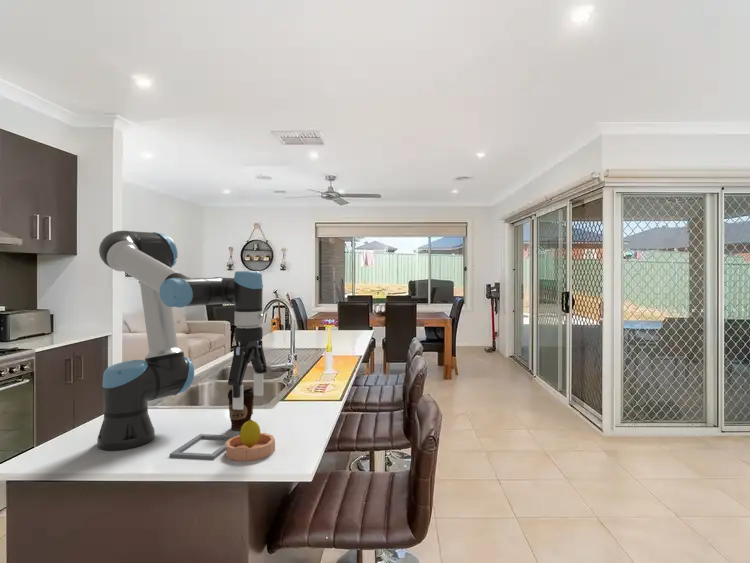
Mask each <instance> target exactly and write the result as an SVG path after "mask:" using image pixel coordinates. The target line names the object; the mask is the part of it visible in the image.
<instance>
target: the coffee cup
mask: <svg viewBox="0 0 750 563" xmlns="http://www.w3.org/2000/svg"><path fill="white" fill-rule="evenodd" d="M254 397H255V396H254V386H251V385H243V410H237V409H233V386H232V387H230V388H229V390H228V392H227V398H228V412H229V418H230V422H231V425H230V427H231V430H235V431H241V427H242V426H243V424H244V423H245V422H247V421H249V420H252V416H253V414H254Z"/></svg>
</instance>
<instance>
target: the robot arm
mask: <svg viewBox="0 0 750 563" xmlns="http://www.w3.org/2000/svg"><path fill="white" fill-rule="evenodd" d="M98 252H99V257H100V259H101V261H102V262H103V263H104V264H105V265H106V267H107V266H108V267H109V268H111V270H114V271H115V272H116V271H117V272H124V273H125V274H127V275H129V276H130V277H132V278H134V279H136V280H137V281H138V282H139V285H140V286H139V287H140V293H141V294H140V295H141V301H142V309H143V315H144V316H143V317H144V323H145V331H146V340H147V345H148V353H147V354H146V355H145V357H144V359H133V360H126V361H122V362H118V363H115V364H112V365H110V366H108V367H106V369H105V370H104V371H103V376H102V383H101V384H102V391H103V392H102V393H103V394H102V396H103V397H102V400H103V420H102V423H101V426H100V429H99V432H98V433H99V434H98V435H97V439H96V440H97V442H96V443H97V448H99V449H100V450H102V451H103V450H105V451H120V450H121V451H122V450H128V449H133V448H137V447H141V446H143V445H146V444H148V443H150V442H152V441H153V440H154V439H155V435H156V434H155V433H156V432H155V428H154V426H153V422H152V421H151V417H150V415H149V407H148V405H149V403H148V402H151V401H154V400H155V401H156V400H159V399H163V398H166V397H171V396H172V397H173V396H177V395H179V394H181V393H184V392H186V391H187V390H189V388H190V387H191V386H192V384H193V382H194V378H195V366H194V364H193V362H192V360H191V359H190V358H189V357H187V356H185V353H184V350H183V349H181V348H180V347H179V345H178V339H177V333H176V332H177V330H176V325H175V317H174V311H173V308H185V307H196V306H209V305H222V304H223V305H234V321H233V322H234V326H236V327H235V328H234V340H235V341H236V342H239V346H234V348H233V356H232V360H231V366H230V371H229V374H228V380H227V384H228V386H232V387H233V409H237V410H243V386H244V384H242V383H243V380H244V377H245V373H246V371H247V368H248V364H250V363H251V366H252V368H253V370H254V373H253V390H254V397H256V396H257V397H262V396H264V374H267V372H268V370H267V368H268V367H267V362H266V356H265V353H264V352H265V351H264V347H263V346H264V345H263V336H264V335H263V334H264V333H263V327H262V325H263V319H264V314H263V288H264V285H263V275H262V274H263V273H261V272H260V271H258V270H256V271H255V270H254V271H251V270H250V271H249V270H237V271H235V272H234V277H223V276H222V277H221V276H219V277H218V276H216V277H215V276H214V277H189V276H186V275H185V274H183V273H181V272H180V271H178V270H175V269H174V268H172V267H173V266H175V265H176V264H177V259H178V257H179V256H178V248H177V245H176V243H175V242H174V240H173V238H171V237H170V236H169V235H167V234H164V233H159V232H155V231H154V232H153V231H152V232H148V231H134V230H130V231H129V230H117V231H116V230H115V231H113V232H110V233H109V234H107V235H106V236H105V237H104V238H103V239H102V241H101V242H100V245H99V248H98Z"/></svg>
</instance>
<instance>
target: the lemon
mask: <svg viewBox="0 0 750 563" xmlns="http://www.w3.org/2000/svg"><path fill="white" fill-rule="evenodd" d="M260 433H261V428H260V425H259V423H258V422H256V421H254V420H253V419H251V420H249V421H247V422H245V423H244V424H243V426H242V427H241V430H239V435H240V440H241V442H242V443H243V445H245V446H247V447H248V448H252V446H254V445H256V444H257V443H258V441H259V439H260Z"/></svg>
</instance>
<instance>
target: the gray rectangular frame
mask: <svg viewBox="0 0 750 563" xmlns="http://www.w3.org/2000/svg"><path fill="white" fill-rule="evenodd" d="M235 436H236V435H232V434H229V435H228V434H209V433H207V434H206V433H200V434H198V435H196V436H195V437H194V438H192V439H190V440H188V441H187V442H185V443H184V444H183V445H181V446H180V447H178V448H176V449H175V450H173V451H172V452H170V453H169V458H181V457H183V459H185V458H186V459H202V460H204V459H205V460H215V459H216V458H218V457H219V456H220V455H222V453H224V452H226V442H225V443H223V445H221V446H220V447H219V448H218V449H216V450H214V451H213V452H211V453H201V452H185V451H186V450H187V449H189V448H190V447H191V446H193V445H195V444H196V443H198V442H199V441H201V440H203V439H205V440H206V439H207V440H222V441H223V440H225V441H226V440H227V441H228V440H229V439H230V438H232V437H235Z"/></svg>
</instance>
